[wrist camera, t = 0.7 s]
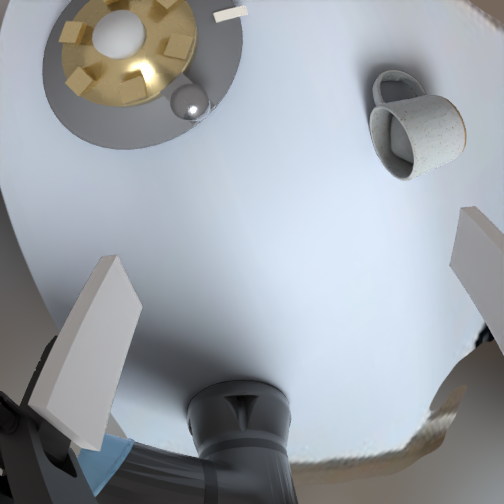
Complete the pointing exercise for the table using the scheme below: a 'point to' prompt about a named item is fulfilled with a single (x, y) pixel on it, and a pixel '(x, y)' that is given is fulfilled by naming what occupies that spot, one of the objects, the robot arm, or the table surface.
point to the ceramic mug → (414, 129)
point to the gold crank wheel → (137, 59)
